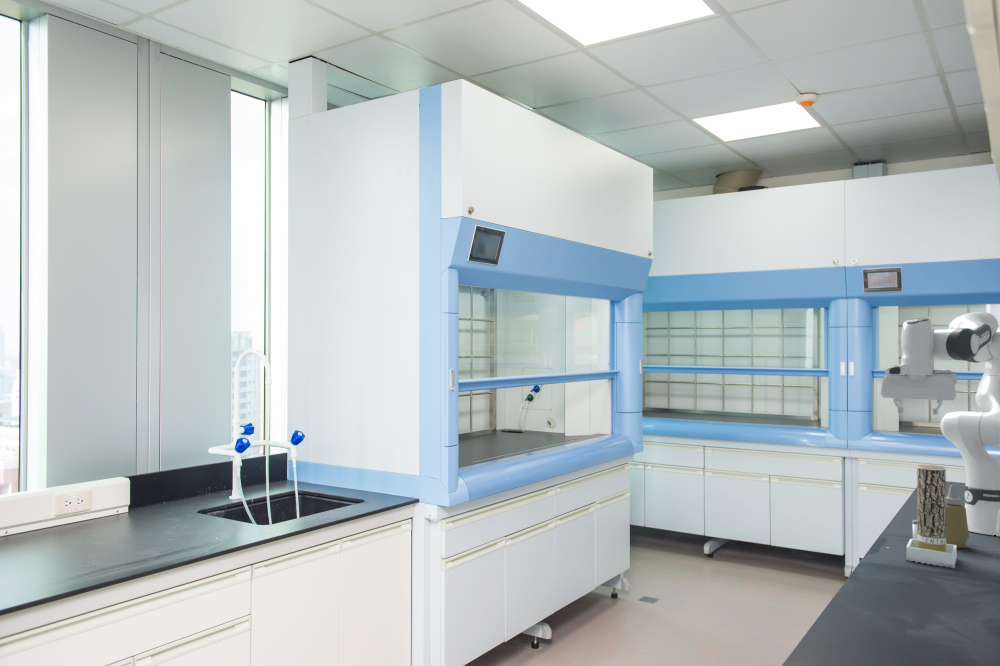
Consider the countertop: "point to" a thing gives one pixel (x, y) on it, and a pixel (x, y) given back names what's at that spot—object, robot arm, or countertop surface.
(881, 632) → the countertop surface
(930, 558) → the tray
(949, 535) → the squeeze bottle
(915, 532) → the sample vial
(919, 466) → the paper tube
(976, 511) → the robot arm
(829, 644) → the countertop surface
